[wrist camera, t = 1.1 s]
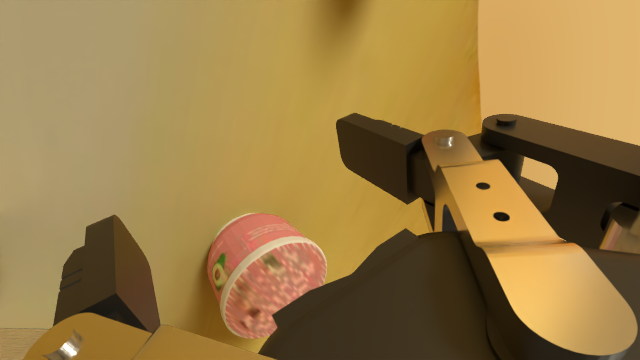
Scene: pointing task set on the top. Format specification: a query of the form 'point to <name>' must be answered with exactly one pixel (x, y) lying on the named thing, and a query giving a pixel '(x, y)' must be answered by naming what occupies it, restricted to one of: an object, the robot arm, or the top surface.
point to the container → (261, 271)
